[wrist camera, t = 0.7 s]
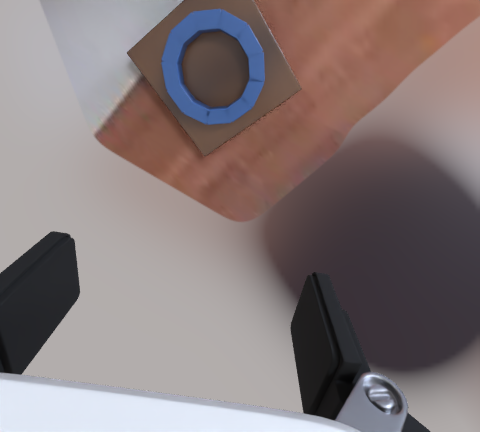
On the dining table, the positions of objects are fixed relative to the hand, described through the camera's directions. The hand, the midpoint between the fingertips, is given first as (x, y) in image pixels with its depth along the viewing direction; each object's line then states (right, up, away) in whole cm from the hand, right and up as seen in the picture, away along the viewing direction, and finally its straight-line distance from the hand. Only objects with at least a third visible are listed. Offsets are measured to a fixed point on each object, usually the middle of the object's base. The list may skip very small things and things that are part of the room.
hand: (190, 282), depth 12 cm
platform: (-1, +20, +23) cm, 31 cm away
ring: (-1, +19, +21) cm, 28 cm away
